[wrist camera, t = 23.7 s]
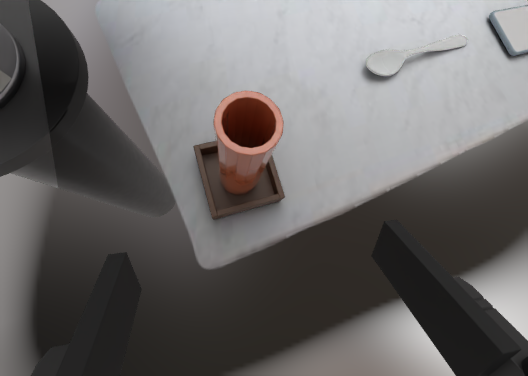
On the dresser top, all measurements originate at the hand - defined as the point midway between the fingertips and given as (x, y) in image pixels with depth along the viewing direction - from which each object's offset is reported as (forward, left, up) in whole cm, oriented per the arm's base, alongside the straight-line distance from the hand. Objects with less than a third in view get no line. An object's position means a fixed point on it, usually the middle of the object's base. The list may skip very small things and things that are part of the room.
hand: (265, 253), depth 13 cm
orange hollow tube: (+1, +8, -15) cm, 17 cm away
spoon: (+33, +20, -16) cm, 42 cm away
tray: (+1, +8, -16) cm, 18 cm away
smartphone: (+56, +21, -16) cm, 62 cm away
